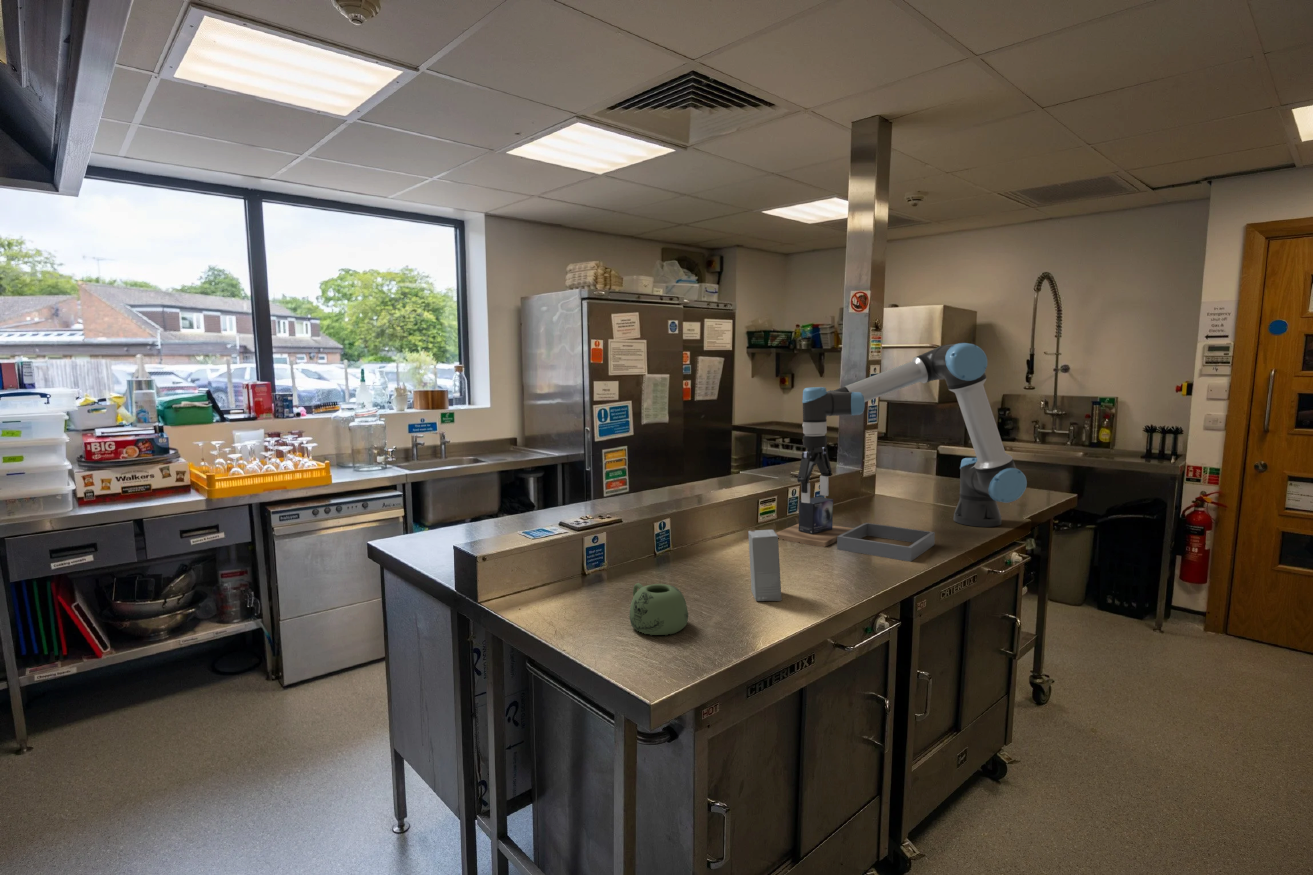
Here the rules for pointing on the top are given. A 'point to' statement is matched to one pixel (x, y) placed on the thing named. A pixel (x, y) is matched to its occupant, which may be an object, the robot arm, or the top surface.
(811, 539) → the walnut board
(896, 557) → the bin
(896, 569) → the top surface
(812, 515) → the small box
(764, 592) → the skincare box
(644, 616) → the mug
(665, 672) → the top surface
